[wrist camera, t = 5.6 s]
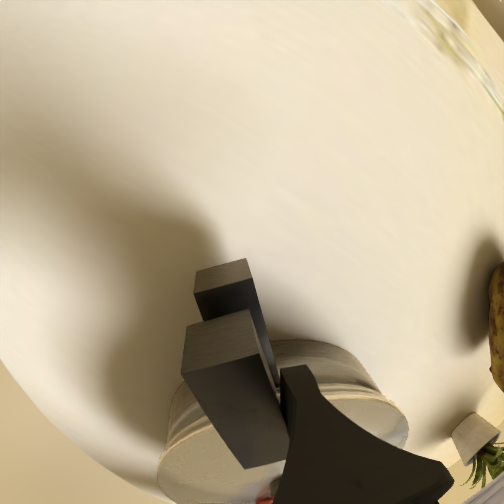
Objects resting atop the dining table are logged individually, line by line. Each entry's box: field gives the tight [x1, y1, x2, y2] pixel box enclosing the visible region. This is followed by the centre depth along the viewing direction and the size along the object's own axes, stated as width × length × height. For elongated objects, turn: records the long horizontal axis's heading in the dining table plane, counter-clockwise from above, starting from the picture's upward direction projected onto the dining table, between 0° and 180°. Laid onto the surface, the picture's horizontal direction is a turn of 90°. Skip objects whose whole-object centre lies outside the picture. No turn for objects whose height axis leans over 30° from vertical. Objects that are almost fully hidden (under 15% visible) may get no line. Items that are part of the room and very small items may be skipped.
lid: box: [157, 309, 409, 504], centre depth 13 cm, size 22×17×3 cm
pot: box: [165, 258, 386, 449], centre depth 16 cm, size 22×16×5 cm
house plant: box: [451, 413, 504, 489], centre depth 20 cm, size 14×14×16 cm
